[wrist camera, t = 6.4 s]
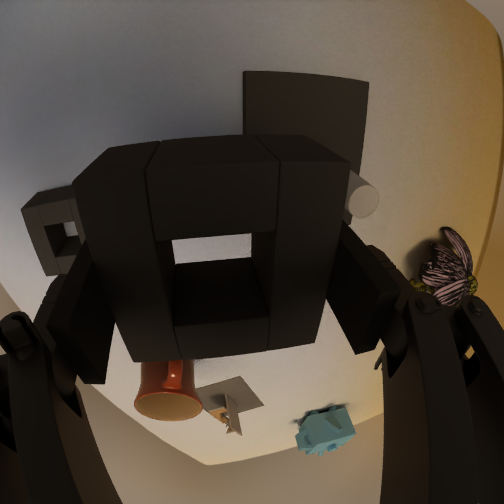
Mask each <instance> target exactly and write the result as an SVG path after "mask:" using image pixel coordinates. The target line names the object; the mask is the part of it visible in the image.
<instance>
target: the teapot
mask: <svg viewBox="0 0 504 504" xmlns="http://www.w3.org/2000/svg"><path fill="white" fill-rule="evenodd" d="M336 408H337V406H333V407H331V408H330V409H329V412H324V413H320V414H319V412H318V411H317V410H315V411H312V412H310V413H309V414H310V416H307V418H306V419H305V421H304V422H303V424H302V425H301V426H300V428H299V433H298V434H297V435H296V436H295V438H296V441H297V445H298V449H299V450H305V452H306V455H309V454H313V453H317V452H319V455H318V456H322V455H323V453H324V451H325V450H328V452H331V451H334V450H336V449H337V447H339V446H343V445H344V444H345V443H346V442H347V441H348V440H350V439H351V438H352V437H353V436H354V435H355V434H356V432H355V429H354V427H353V424H352V422H351V419H350V417H349V414H348V412H347V410H346V407H345V408H341V409H337V410H336Z"/></svg>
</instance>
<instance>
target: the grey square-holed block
mask: <svg viewBox="0 0 504 504" xmlns="http://www.w3.org/2000/svg"><path fill="white" fill-rule="evenodd" d="M21 212H22V215H23V218H24V221H25V224H26V227H27V230H28V233H29V235H30V238H31V241H32V243H33V246H34V249H35V251H36V254H37V256H38V258H39V261H40V263H41V266H42V268H43V270H44V272H45V275H46V276H55V275H59V274H67V273H68V272H69V270H70V268H71V266H72V264H73V262H74V260H75V258H76V256H77V254H78V252H79V250H80V248H81V246H82V244H83V242H84V240H85V238H86V237H85V234H84V230H83V227H82V223H81V219H80V216H79V212H78V208H77V203H76V199H75V195H74V190H73V186H72V185H70V186H65V187H60V188H55V189H51V190H46V191H42V192H38V193H36V194H35V195H34V196H33V197H32V198H31V199H30V200H29V201H28V202H27V203H26V204H25V205H24V206H23V207H22V208H21ZM71 221H74V222H75V225H76V228H77V232H78V235H79V236H72V237H67V236H66V233H65V230H64V226H63V223H65V222H71Z"/></svg>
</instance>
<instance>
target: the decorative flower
mask: <svg viewBox="0 0 504 504" xmlns="http://www.w3.org/2000/svg"><path fill="white" fill-rule="evenodd" d="M442 230H443V232H444V233H445V235H446V236H447V237H448V239H449V241H450V242H451V243H452V244H453V246H454V248H455V250H456V252H457V253H458V255H459V256H460V258H461V259H460V258H459V257H458V255H457V254H455V253H454V252H453V251H452V250H450V249H449V248H447V247H445V246H442V245H440V244H437V243H433V242H430V243H431V244H432V245H430V246H429V247H431V248H430V249H429V250H430V251H431V252H430V256H431V258H430V260H429V259H428V261H427V262H426V263H422V264H421V267H420V270H419V274H418V277H419V280H420V281H421V282H419V283H417V284H416V285H415V283H416V281H415V280H413V279H412V280H410V284H411V285H412V286H414V285H415V286H414V287H420V290H421V291H423V292H425V290H426V287H430V288H429V292H430V293H431V295H433V296H435V297H436V298H437V299H438V300H439V301H441V303H442V305H449V306H457V305H458V304H459V302H460V300H461V298H462V297H463V296H464V295H473V294H474V293H475V292H476V290H477V285H478V282H477V280H476V279H475V277H474V276H472V271H473V262H472V257H471V253H470V250H469V248H468V246H467V244H466V243H465V241H464V240H463V239H462V237H461V236H460V235H459V234H458V233H457V232H456V231H454V230H452V229H451V228H450V227H443V228H442ZM414 289H415V290H416V291H418V289H417V288H414ZM435 289H436V290H435ZM434 290H435V291H434Z"/></svg>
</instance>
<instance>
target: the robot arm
mask: <svg viewBox="0 0 504 504" xmlns="http://www.w3.org/2000/svg"><path fill="white" fill-rule="evenodd" d="M326 299H327V301H328V303H329V305H330V307H331V309H332V311H333V313H334V314H335V316H336V318H337V320H338V322H339V324H340V326H341V328H342V330H343V332H344V334H345V335H346V337H347V339H348V341H349V343H350V345H351V347H352V349H353V351H354V353H355V355H357V354H360V353H364V352H368V351H372V350H375V348H376V346H377V344H378V341H379V339H381V340H382V342H383V344H384V346H385V347H384V349H383V351H382V353H381V354H380V356H379V358H378V360H377V362H376V363H375V367H374V369H375V370H377V369H378V367H379V365H380V364H381V362H382V369H381V370H382V375H383V398H384V449H383V470H382V486H381V496H380V504H478V503H479V504H504V330H503V329H502V327H501V325H500V324H499V322H498V321H497V319H496V318H495V316H494V315H493V313H492V312H491V310H490V309H489V307H488V306H487V305H486V303H485V302H484V301H483V300H481V299H480V298H479V297H477V296H474V295H464V296H463V297H462V298H461V300H460V302H459V304H458V305H457V306H449V305H442V303H441V301H439V300H438V299H437V298H436V297H435V296H433V295H431V294H430V293H427V292H423V291H416V290H415V289H414V287H413V286H412V285H411V284H410V282H409V281H408V280H407V279H406V278H405V276H404V275H403V274H402V273H401V272H400V271H399V269H396V266H395V265H394V264H393V262H390V259H389V258H388V257H387V256H386V255H385V253H384V252H383V251H381V250H379V249H378V248H376V247H375V246H373V245H365V244H364V243H363V241H362V240H361V239H360V238H359V237H358V236H357V235H356V234H355V232H354V231H353V230H352V229H351V228H350V227H349V226H348V225H347V223H346V222H345V221H344V220H343V219H342V225H341V230H340V236H339V241H338V246H337V251H336V256H335V261H334V265H333V270H332V275H331V279H330V284H329V288H328V292H327V297H326ZM114 326H115V319H114V316H113V314H112V311H111V309H110V306H109V304H108V301H107V298H106V296H105V293H104V290H103V288H102V285H101V282H100V279H99V276H98V274H97V271H96V268H95V265H94V262H93V260H92V257H91V254H90V251H89V248H88V244H87V241H86V238H85V240H84V242H83V244H82V246H81V248H80V250H79V252H78V254H77V256H76V258H75V260H74V262H73V264H72V266H71V268H70V270H69V272H68V273H67V274H59V275H58V276H57V277H56V278H55V280H54V281H53V282H52V283H51V284H50V286H49V288H48V290H47V292H46V296H45V297H44V299H43V301H42V304H41V305H40V308H39V310H38V312H37V314H36V317H35V319H34V322H33V323H32V321H31V319H30V318H29V316H28V315H27V314H26V313H25V312H21V311H17V312H12V313H10V314H9V315H7V316H5V317H4V318H3V319H2V320H1V321H0V345H1V347H2V348H3V349H4V351H5V352H6V353H7V354H4V355H0V504H123V503H122V501H121V499H120V497H119V496H118V494H117V491H116V489H115V487H114V485H113V483H112V481H111V478H110V476H109V474H108V472H107V469H106V467H105V464H104V462H103V460H102V457H101V455H100V452H99V449H98V447H97V444H96V441H95V438H94V436H93V433H92V430H91V427H90V424H89V421H88V418H87V414H86V411H85V408H84V405H83V401H82V397H81V394H80V391H79V389H78V388H77V386H76V385H75V381H76V377H77V375H78V376H79V377H80V379H81V380H82V381H83V383H84V384H105V380H106V373H107V366H108V360H109V353H110V347H111V342H112V336H113V331H114ZM470 346H472V348H473V350H474V351H475V352H474V354H473V355H472V357H471V358H470V359H469V358H467V357H466V355H465V353H466V352H467V351H468V349H469V348H470Z"/></svg>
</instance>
